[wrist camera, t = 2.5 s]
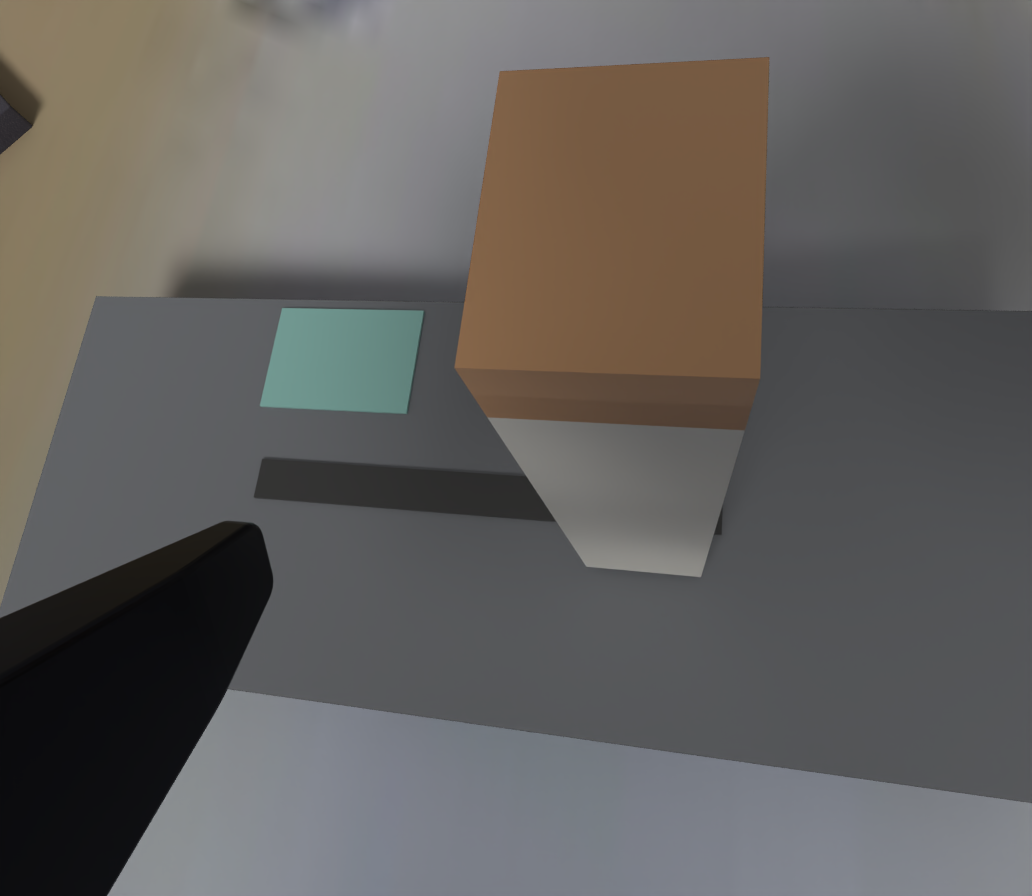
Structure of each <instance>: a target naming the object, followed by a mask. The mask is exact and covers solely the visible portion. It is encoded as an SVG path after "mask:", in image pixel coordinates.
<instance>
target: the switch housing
mask: <svg viewBox="0 0 1032 896" xmlns="http://www.w3.org/2000/svg"><path fill="white" fill-rule="evenodd" d="M463 308H464V302H418V301H355V300H292V299H229V298H166V297H103V296H96V299H95V302H94V305H93V308H92V312H91V315H90V318H89V321H88V325H87V328H86V331H85V334H84V337H83V341H82V344H81V347H80V350H79V354H78V357H77V360H76V363H75V367H74V370H73V373H72V376H71V380H70V383H69V386H68V389H67V393H66V396H65V399H64V402H63V406H62V409H61V412H60V415H59V419H58V422H57V425H56V428H55V431H54V435H53V438H52V441H51V444H50V448H49V451H48V454H47V457H46V461H45V464H44V467H43V470H42V474H41V477H40V480H39V483H38V487H37V490H36V493H35V496H34V500H33V503H32V506H31V509H30V513H29V516H28V519H27V522H26V526H25V529H24V532H23V535H22V538H21V542H20V545H19V548H18V551H17V555H16V558H15V561H14V564H13V568H12V571H11V574H10V577H9V581H8V584H7V587H6V590H5V594H4V597H3V600H2V603H1V607H0V618H1V617H3V616H6V615H8V614H10V613H13V612H15V611H17V610H20V609H22V608H24V607H27V606H29V605H31V604H33V603H36V602H38V601H40V600H43V599H45V598H47V597H50V596H52V595H54V594H56V593H59V592H61V591H63V590H66V589H68V588H70V587H73V586H75V585H77V584H79V583H82V582H84V581H86V580H89V579H91V578H93V577H96V576H98V575H100V574H103V573H105V572H107V571H109V570H112V569H114V568H116V567H119V566H121V565H123V564H126V563H128V562H130V561H132V560H135V559H137V558H139V557H142V556H144V555H146V554H149V553H151V552H153V551H156V550H158V549H160V548H162V547H165V546H167V545H169V544H172V543H174V542H176V541H179V540H181V539H183V538H185V537H188V536H190V535H192V534H195V533H197V532H199V531H202V530H204V529H206V528H209V527H211V526H213V525H215V524H218V523H220V522H223V521H241V522H252V523H254V524H256V525H258V526H259V528H260V529H261V531H262V534H263V537H264V541H265V545H266V549H267V553H268V557H269V561H270V564H271V568H272V572H273V589H272V593H271V596H270V598H269V601H268V603H267V605H266V607H265V609H264V611H263V614H262V616H261V618H260V620H259V622H258V625H257V627H256V629H255V631H254V633H253V635H252V638H251V640H250V642H249V644H248V646H247V648H246V651H245V653H244V655H243V657H242V659H241V661H240V664H239V666H238V668H237V670H236V672H235V674H234V677H233V679H232V681H231V683H230V685H229V687H228V689H231V690H238V691H245V692H252V693H259V694H266V695H274V696H281V697H288V698H295V699H302V700H309V701H316V702H323V703H330V704H337V705H344V706H351V707H358V708H365V709H372V710H379V711H386V712H393V713H401V714H408V715H415V716H422V717H429V718H436V719H443V720H450V721H457V722H464V723H471V724H478V725H485V726H492V727H499V728H506V729H513V730H520V731H528V732H535V733H542V734H549V735H556V736H563V737H570V738H577V739H584V740H591V741H598V742H605V743H612V744H619V745H626V746H633V747H640V748H647V749H654V750H662V751H669V752H676V753H683V754H690V755H697V756H704V757H711V758H718V759H725V760H732V761H739V762H746V763H753V764H760V765H767V766H774V767H781V768H789V769H796V770H803V771H810V772H817V773H824V774H831V775H838V776H845V777H852V778H859V779H866V780H873V781H880V782H887V783H894V784H901V785H908V786H916V787H923V788H930V789H937V790H944V791H951V792H958V793H965V794H972V795H979V796H986V797H993V798H1000V799H1007V800H1014V801H1021V802H1028V803H1032V311H983V310H920V309H857V308H794V307H762V334H761V369H760V381H759V385H758V388H757V391H756V395H755V398H754V401H753V405H752V408H751V411H750V415H749V418H748V421H747V425H746V428H745V431H744V435H743V438H742V441H741V445H740V448H739V451H738V455H737V458H736V462H735V465H734V468H733V472H732V475H731V478H730V482H729V485H728V488H727V492H726V495H725V498H724V502H723V505H722V508H721V512H720V515H719V518H718V522H717V525H716V528H715V532H714V535H713V538H712V542H711V545H710V549H709V552H708V555H707V559H706V562H705V565H704V569H703V572H702V575H701V577H693V576H683V575H672V574H661V573H650V572H639V571H628V570H617V569H606V568H595V567H586V565H585V564H584V562H583V561H582V559H581V558H580V556H579V555H578V553H577V552H576V550H575V549H574V547H573V546H572V544H571V543H570V541H569V540H568V538H567V537H566V535H565V534H564V532H563V531H562V529H561V528H560V526H559V525H558V523H557V522H556V520H555V519H554V517H553V516H552V514H551V513H550V511H549V510H548V508H547V507H546V505H545V504H544V502H543V501H542V499H541V498H540V496H539V495H538V493H537V492H536V490H535V489H534V487H533V485H532V484H531V482H530V481H529V479H528V478H527V476H526V475H525V473H524V472H523V470H522V469H521V467H520V466H519V464H518V463H517V461H516V460H515V458H514V457H513V455H512V454H511V452H510V451H509V449H508V448H507V446H506V445H505V443H504V442H503V440H502V439H501V437H500V436H499V434H498V433H497V431H496V430H495V428H494V427H493V425H492V424H491V422H490V421H489V419H488V418H487V416H486V415H485V413H484V412H483V410H482V409H481V407H480V406H479V404H478V403H477V401H476V400H475V398H474V397H473V395H472V394H471V392H470V391H469V389H468V388H467V386H466V385H465V383H464V382H463V380H462V379H461V377H460V376H459V374H458V373H457V371H456V370H455V368H454V367H455V361H456V354H457V348H458V341H459V335H460V328H461V321H462V315H463Z"/></svg>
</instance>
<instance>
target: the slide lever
mask: <svg viewBox="0 0 1032 896" xmlns="http://www.w3.org/2000/svg"><path fill="white" fill-rule="evenodd" d="M768 87H769V57H764V58H745V59H726V60H707V61H688V62H669V63H650V64H631V65H612V66H593V67H574V68H555V69H536V70H517V71H500V74H499V80H498V87H497V93H496V100H495V106H494V113H493V119H492V126H491V132H490V139H489V145H488V152H487V158H486V165H485V171H484V178H483V185H482V191H481V198H480V204H479V211H478V217H477V224H476V230H475V237H474V243H473V250H472V256H471V263H470V269H469V276H468V282H467V289H466V295H465V302H464V308H463V315H462V321H461V328H460V335H459V341H458V348H457V354H456V361H455V367H454V368H455V370H456V371H457V373H458V374H459V376H460V377H461V379H462V380H463V382H464V383H465V385H466V386H467V388H468V389H469V391H470V392H471V394H472V395H473V397H474V398H475V400H476V401H477V403H478V404H479V406H480V407H481V409H482V410H483V412H484V413H485V415H486V416H487V418H488V419H489V421H490V422H491V424H492V425H493V427H494V428H495V430H496V431H497V433H498V434H499V436H500V437H501V439H502V440H503V442H504V443H505V445H506V446H507V448H508V449H509V451H510V452H511V454H512V455H513V457H514V458H515V460H516V461H517V463H518V464H519V466H520V467H521V469H522V470H523V472H524V473H525V475H526V476H527V478H528V479H529V481H530V482H531V484H532V485H533V487H534V489H535V490H536V492H537V493H538V495H539V496H540V498H541V499H542V501H543V502H544V504H545V505H546V507H547V508H548V510H549V511H550V513H551V514H552V516H553V517H554V519H555V520H556V522H557V523H558V525H559V526H560V528H561V529H562V531H563V532H564V534H565V535H566V537H567V538H568V540H569V541H570V543H571V544H572V546H573V547H574V549H575V550H576V552H577V553H578V555H579V556H580V558H581V559H582V561H583V562H584V564H585V565H586V567H595V568H606V569H617V570H628V571H639V572H650V573H661V574H672V575H683V576H693V577H701V575H702V572H703V569H704V565H705V562H706V559H707V555H708V552H709V549H710V545H711V542H712V538H713V535H714V532H715V528H716V525H717V522H718V518H719V515H720V512H721V508H722V505H723V502H724V498H725V495H726V492H727V488H728V485H729V482H730V478H731V475H732V472H733V468H734V465H735V462H736V458H737V455H738V451H739V448H740V445H741V441H742V438H743V435H744V431H745V428H746V425H747V421H748V418H749V415H750V411H751V408H752V405H753V401H754V398H755V395H756V391H757V388H758V385H759V381H760V369H761V334H762V299H763V263H764V228H765V193H766V158H767V122H768Z"/></svg>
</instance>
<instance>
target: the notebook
mask: <svg viewBox="0 0 1032 896" xmlns="http://www.w3.org/2000/svg"><path fill="white" fill-rule="evenodd" d="M31 127H32V125H31V124H30V123H29V122H28V121H27V120H26V119H25V118H23V117H22V116H21V115H20V114H19V113H18V112H17V111H16V110H14V109H13V108H12V107H11V106H10V105H9V104H8V103H7V101H6V100H5V99H4V98H3V97H2V96H1V95H0V154H1V153H2V152H4V151H5V150H6V149H7V148H8V147H9V146H11V145H12V144H13V143H14V142H15V141H16V140H18V139H19V138H20V137H21V136H22V135H23V134H24V133H26V132H27V131H28V130H29V129H30V128H31Z"/></svg>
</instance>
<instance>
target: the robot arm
mask: <svg viewBox="0 0 1032 896" xmlns="http://www.w3.org/2000/svg"><path fill="white" fill-rule="evenodd" d="M272 589H273V572H272V568H271V564H270V561H269V557H268V553H267V549H266V545H265V541H264V537H263V534H262V531H261V529H260V528H259V526H258V525H256V524H254V523H252V522H241V521H223V522H220V523H218V524H215V525H213V526H211V527H209V528H206V529H204V530H202V531H199V532H197V533H195V534H192V535H190V536H188V537H185V538H183V539H181V540H179V541H176V542H174V543H172V544H169V545H167V546H165V547H162V548H160V549H158V550H156V551H153V552H151V553H149V554H146V555H144V556H142V557H139V558H137V559H135V560H132V561H130V562H128V563H126V564H123V565H121V566H119V567H116V568H114V569H112V570H109V571H107V572H105V573H103V574H100V575H98V576H96V577H93V578H91V579H89V580H86V581H84V582H82V583H79V584H77V585H75V586H73V587H70V588H68V589H66V590H63V591H61V592H59V593H56V594H54V595H52V596H50V597H47V598H45V599H43V600H40V601H38V602H36V603H33V604H31V605H29V606H27V607H24V608H22V609H20V610H17V611H15V612H13V613H10V614H8V615H6V616H3V617H1V618H0V896H107V895H108V893H109V892H110V890H111V888H112V887H113V885H114V883H115V882H116V880H117V878H118V876H119V875H120V873H121V871H122V870H123V868H124V866H125V865H126V863H127V861H128V859H129V858H130V856H131V854H132V853H133V851H134V849H135V848H136V846H137V844H138V843H139V841H140V839H141V837H142V836H143V834H144V832H145V831H146V829H147V827H148V826H149V824H150V822H151V821H152V819H153V817H154V815H155V814H156V812H157V810H158V809H159V807H160V805H161V804H162V802H163V800H164V798H165V797H166V795H167V793H168V792H169V790H170V788H171V787H172V785H173V783H174V782H175V780H176V778H177V776H178V775H179V773H180V771H181V770H182V768H183V766H184V765H185V763H186V761H187V760H188V758H189V756H190V754H191V753H192V751H193V749H194V748H195V746H196V744H197V743H198V741H199V739H200V737H201V736H202V734H203V732H204V731H205V729H206V727H207V726H208V724H209V722H210V721H211V719H212V717H213V715H214V714H215V712H216V710H217V708H218V706H219V705H220V703H221V701H222V699H223V697H224V695H225V693H226V691H227V689H228V687H229V685H230V683H231V681H232V679H233V677H234V674H235V672H236V670H237V668H238V666H239V664H240V661H241V659H242V657H243V655H244V653H245V651H246V648H247V646H248V644H249V642H250V640H251V638H252V635H253V633H254V631H255V629H256V627H257V625H258V622H259V620H260V618H261V616H262V614H263V611H264V609H265V607H266V605H267V603H268V601H269V598H270V596H271V593H272Z"/></svg>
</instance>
